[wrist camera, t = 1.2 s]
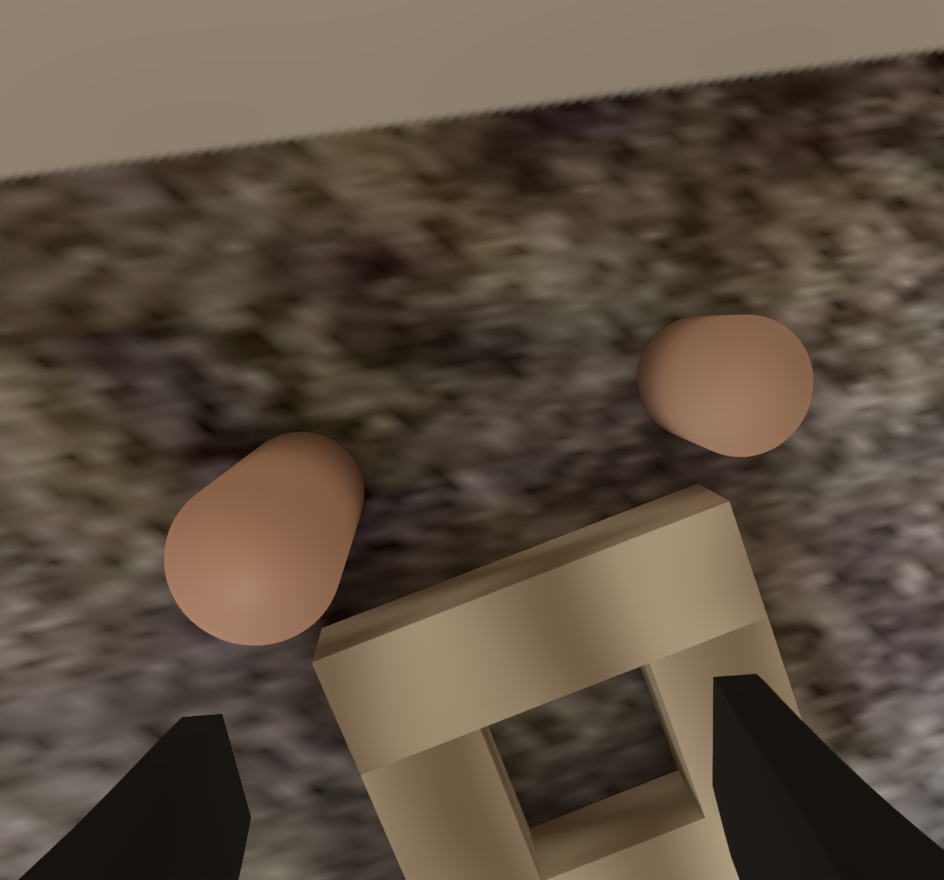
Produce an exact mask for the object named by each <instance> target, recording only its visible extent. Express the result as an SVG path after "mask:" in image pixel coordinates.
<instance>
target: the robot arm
mask: <svg viewBox="0 0 944 880" xmlns="http://www.w3.org/2000/svg"><path fill="white" fill-rule="evenodd" d="M712 787H713V790H714V794H715V798H716V802H717V806H718V810H719V814H720V818H721V822H722V826H723V830H724V833H725V837H726V841H727V844H728V848H729V852H730V855H731V858H732V861H733V864H734V867H735V869H736V872H737V875H738V877H739V880H944V850H943V849H942V848H941V847H940V846H938V845H937V844H936V843H935V842H933V841H932V840H931V839H930V838H929V837H927V836H926V835H925V834H924V833H923V832H921V831H920V830H919V829H918V828H917V827H916V826H914V825H913V824H912V823H911V822H910V821H909V820H907V819H906V818H905V817H904V816H903V815H902V814H900V813H899V812H898V811H897V810H896V809H895V808H893V807H892V806H891V805H890V804H889V803H888V802H887V801H886V800H884V799H883V798H882V797H881V796H880V795H879V794H878V793H877V792H876V791H874V790H873V789H872V788H871V787H870V786H869V785H868V784H867V783H866V782H865V781H864V780H863V779H862V778H860V777H859V776H858V775H857V774H856V773H855V772H854V771H853V770H852V769H851V768H850V767H849V766H848V765H847V764H846V763H845V762H844V761H842V760H841V759H840V758H839V757H838V756H837V755H836V754H835V753H834V752H833V751H832V750H831V749H830V748H829V747H828V746H827V745H826V744H825V743H824V742H823V741H822V740H821V739H820V738H819V737H818V736H817V735H816V734H815V733H814V732H813V731H812V730H811V729H810V728H809V727H808V726H807V725H806V724H805V723H804V722H803V721H802V720H801V719H800V718H799V717H798V716H797V715H796V714H795V713H794V711H793V710H792V709H791V708H790V707H789V706H788V705H787V704H786V703H785V702H784V701H783V700H782V699H781V698H780V697H779V696H778V695H777V694H776V692H775V691H774V690H773V689H772V688H771V687H770V686H769V685H768V684H767V683H766V682H765V681H764V680H763V679H762V678H761V677H760V676H759V675H757V674H745V675H732V676H718V677H713V763H712ZM250 820H251V816H250V812H249V809H248V805H247V802H246V798H245V794H244V791H243V787H242V784H241V780H240V776H239V773H238V769H237V766H236V762H235V758H234V755H233V751H232V748H231V744H230V741H229V737H228V733H227V730H226V726H225V723H224V719H223V715H222V714H217V715H204V716H191V717H182V718H181V719H180V720H179V721H178V722H177V723H176V724H175V725H174V726H173V727H172V728H171V729H170V730H169V731H168V732H167V733H166V734H165V735H164V736H163V737H162V738H161V739H160V740H159V741H158V742H157V743H156V744H155V745H154V746H153V747H152V748H151V749H150V750H149V751H148V752H147V753H146V754H145V755H144V756H143V758H142V759H141V760H140V761H139V762H138V763H137V764H136V765H135V766H134V767H133V768H132V769H131V770H130V771H129V772H128V773H127V774H126V775H125V776H124V777H123V778H122V779H121V780H120V781H119V782H118V783H117V785H116V786H115V787H114V788H113V789H112V790H111V791H110V792H109V793H108V794H107V795H106V796H105V797H104V798H103V799H102V800H101V801H100V802H99V803H98V804H97V805H96V806H95V807H94V808H93V809H92V810H91V811H90V812H89V813H88V814H87V815H86V816H85V817H84V818H83V819H82V820H81V821H80V822H79V823H78V824H77V825H76V826H75V827H74V828H73V829H72V830H71V831H70V832H69V833H68V834H67V835H66V836H65V837H63V838H62V839H61V840H60V841H59V842H58V843H57V844H56V845H55V846H54V847H53V848H52V849H51V850H50V851H49V852H48V853H46V854H45V855H44V856H43V857H42V858H41V859H40V860H39V861H38V862H37V863H36V864H35V865H34V866H33V867H32V868H31V869H29V870H28V871H27V872H26V873H25V874H24V875H23V876H22V877H21V878H20V879H19V880H238V879H239V874H240V870H241V865H242V861H243V856H244V851H245V846H246V841H247V836H248V830H249V825H250Z"/></svg>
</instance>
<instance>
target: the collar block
mask: <svg viewBox="0 0 944 880" xmlns="http://www.w3.org/2000/svg"><path fill="white" fill-rule="evenodd" d="M312 665H313V667H314V669H315V671H316V674H317V676H318V678H319V681H320V683H321V685H322V688H323V690H324V692H325V695H326V697H327V699H328V701H329V704H330V706H331V708H332V711H333V713H334V715H335V718H336V720H337V722H338V725H339V727H340V729H341V731H342V734H343V736H344V738H345V741H346V743H347V745H348V748H349V750H350V752H351V754H352V757H353V759H354V761H355V764H356V766H357V768H358V771H359V773H360V775H361V778H362V780H363V782H364V784H365V787H366V789H367V791H368V794H369V796H370V798H371V801H372V803H373V805H374V808H375V810H376V812H377V814H378V817H379V819H380V821H381V824H382V826H383V828H384V831H385V833H386V835H387V837H388V840H389V842H390V844H391V847H392V849H393V851H394V854H395V856H396V858H397V861H398V863H399V865H400V867H401V870H402V872H403V874H404V877H405V879H406V880H739V877H738V875H737V872H736V869H735V867H734V864H733V861H732V858H731V855H730V852H729V848H728V844H727V841H726V837H725V833H724V830H723V826H722V822H721V818H720V814H719V810H718V806H717V802H716V798H715V794H714V790H713V787H712V763H713V677H718V676H732V675H745V674H757V675H759V676H760V677H761V678H762V679H763V680H764V681H765V682H766V683H767V684H768V685H769V686H770V687H771V688H772V689H773V690H774V691H775V692H776V694H777V695H778V696H779V697H780V698H781V699H782V700H783V701H784V702H785V703H786V704H787V705H788V706H789V707H790V708H791V709H792V710H793V711H794V713H795V714H796V715H797V716H798V717H799V718H800V719H801V716H800V713H799V710H798V707H797V704H796V701H795V697H794V694H793V691H792V688H791V685H790V682H789V679H788V676H787V673H786V670H785V667H784V664H783V661H782V658H781V655H780V652H779V649H778V646H777V643H776V640H775V637H774V634H773V631H772V628H771V625H770V622H769V619H768V616H767V613H766V610H765V607H764V604H763V601H762V598H761V595H760V592H759V589H758V586H757V583H756V580H755V577H754V574H753V571H752V568H751V565H750V562H749V559H748V556H747V553H746V550H745V547H744V544H743V541H742V538H741V535H740V532H739V529H738V526H737V523H736V520H735V517H734V514H733V511H732V508H731V505H730V502H729V501H728V500H726V499H724V498H723V497H721V496H719V495H717V494H716V493H714V492H712V491H710V490H709V489H707V488H705V487H703V486H701V485H700V484H698V483H697V484H695V485H692V486H690V487H687V488H684V489H682V490H679V491H677V492H674V493H671V494H669V495H666V496H664V497H661V498H658V499H656V500H653V501H651V502H648V503H646V504H643V505H640V506H638V507H635V508H633V509H630V510H627V511H625V512H622V513H620V514H617V515H614V516H612V517H609V518H607V519H604V520H601V521H599V522H596V523H594V524H591V525H588V526H586V527H583V528H581V529H578V530H575V531H573V532H570V533H568V534H565V535H562V536H560V537H557V538H555V539H552V540H550V541H547V542H544V543H542V544H539V545H537V546H534V547H531V548H529V549H526V550H524V551H521V552H518V553H516V554H513V555H511V556H508V557H505V558H503V559H500V560H498V561H495V562H492V563H490V564H487V565H485V566H482V567H479V568H477V569H474V570H472V571H469V572H466V573H464V574H461V575H459V576H456V577H454V578H451V579H448V580H446V581H443V582H441V583H438V584H435V585H433V586H430V587H428V588H425V589H422V590H420V591H417V592H415V593H412V594H409V595H407V596H404V597H402V598H399V599H396V600H394V601H391V602H389V603H386V604H383V605H381V606H378V607H376V608H373V609H370V610H368V611H365V612H363V613H360V614H358V615H355V616H352V617H350V618H347V619H345V620H342V621H339V622H337V623H334V624H332V625H329V626H326V627H324V628H322V630H321V634H320V637H319V640H318V643H317V647H316V650H315V653H314V656H313V660H312ZM638 667H640V668H641V671H642V674H643V676H644V679H645V682H646V685H647V687H648V690H649V693H650V696H651V698H652V701H653V704H654V707H655V709H656V712H657V715H658V718H659V720H660V723H661V726H662V729H663V731H664V734H665V737H666V740H667V742H668V745H669V748H670V751H671V753H672V756H673V759H674V762H675V764H676V767H677V771H675V772H672V773H670V774H667V775H664V776H662V777H659V778H657V779H654V780H652V781H649V782H647V783H644V784H641V785H639V786H636V787H634V788H631V789H629V790H626V791H623V792H621V793H618V794H616V795H613V796H611V797H608V798H606V799H603V800H600V801H598V802H595V803H593V804H590V805H588V806H585V807H582V808H580V809H577V810H575V811H572V812H570V813H567V814H565V815H562V816H559V817H557V818H554V819H552V820H549V821H547V822H544V823H541V824H539V825H536V826H534V827H531V828H529V826H528V823H527V821H526V818H525V816H524V813H523V811H522V808H521V806H520V803H519V801H518V798H517V796H516V793H515V791H514V788H513V786H512V783H511V781H510V778H509V776H508V773H507V771H506V768H505V766H504V763H503V761H502V758H501V756H500V753H499V751H498V748H497V746H496V743H495V741H494V738H493V736H492V733H491V731H490V728H489V726H488V725H491V724H494V723H496V722H499V721H501V720H504V719H506V718H509V717H512V716H514V715H517V714H519V713H522V712H525V711H527V710H530V709H532V708H535V707H537V706H540V705H543V704H545V703H548V702H550V701H553V700H555V699H558V698H561V697H563V696H566V695H568V694H571V693H573V692H576V691H579V690H581V689H584V688H586V687H589V686H591V685H594V684H597V683H599V682H602V681H604V680H607V679H610V678H612V677H615V676H617V675H620V674H622V673H625V672H628V671H630V670H633V669H635V668H638ZM801 720H802V719H801Z"/></svg>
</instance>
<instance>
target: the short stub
mask: <svg viewBox="0 0 944 880" xmlns="http://www.w3.org/2000/svg"><path fill="white" fill-rule="evenodd" d="M813 380H814V379H813V370H812V365H811V361H810V359H809V356H808V353H807V351H806V349H805V348H804V346H803V344H802V343H801V341H800V340H799V339H798V337H797V336H796V335H795V334H794V333H793V332H792V331H791V330H789V329H788V328H787V327H786V326H784V325H783V324H781V323H779V322H777V321H775V320H773V319H770V318H768V317H763V316H759V315H711V316H691V317H685V318H682V319H679V320H676V321H674V322H672V323H670V324H669V325H667V326H665V327H664V328H663V329H661V330H660V331H659V332H658V333H657V334H656V335H655V336H654V337H653V338H652V339H651V341H650V342H649V343H648V345H647V346H646V348H645V350H644V352H643V354H642V357H641V359H640V363H639V366H638V373H637V386H638V393H639V396H640V400H641V402H642V405H643V407H644V409H645V410H646V412H647V414H648V415H649V416H650V417H651V419H652V420H653V421H654V422H655V423H656V424H657V425H659V426H660V427H661V428H663V429H664V430H666V431H668V432H670V433H672V434H674V435H676V436H679V437H681V438H683V439H686V440H688V441H690V442H693V443H695V444H697V445H700V446H702V447H704V448H707V449H709V450H711V451H714V452H716V453H719V454H722V455H726V456H732V457H749V456H754V455H758V454H762V453H765V452H767V451H769V450H772V449H774V448H775V447H777V446H779V445H780V444H782V443H783V442H784V441H785V440H787V439H788V438H789V437H790V436H791V435H792V434H793V433H794V432H795V431H796V429H797V428H798V427H799V425H800V424H801V423H802V421H803V419H804V417H805V416H806V413H807V411H808V409H809V406H810V402H811V399H812V394H813Z"/></svg>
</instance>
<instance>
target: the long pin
mask: <svg viewBox="0 0 944 880" xmlns="http://www.w3.org/2000/svg"><path fill="white" fill-rule="evenodd" d="M364 495H365V492H364V483H363V478H362V475H361V472H360V469H359V467H358V465H357V463H356V462H355V460H354V459H353V457H352V456H351V455H350V454H349V453H348V451H347V450H346V449H344V448H343V447H342V446H341V445H340V444H338V443H337V442H335V441H334V440H332V439H330V438H328V437H326V436H323V435H320V434H317V433H312V432H303V431H302V432H290V433H285V434H282V435H279V436H276V437H274V438H272V439H270V440H268V441H267V442H265V443H264V444H262V445H261V446H260V447H258V448H257V449H256V450H254V451H253V452H252V453H250V454H249V455H248V456H246V457H245V458H244V459H242V460H241V461H240V462H238V463H237V464H236V465H234V466H233V467H232V468H230V469H229V470H228V471H226V472H225V473H224V474H222V475H221V476H220V477H218V478H217V479H216V480H214V481H213V482H212V483H210V484H209V485H208V486H206V487H205V488H204V489H202V490H201V491H200V492H198V493H197V494H196V495H195V496H194V497H192V498H191V499H190V500H189V501H188V502H187V503H186V504H185V505H184V506H183V508H182V509H181V510H180V512H179V513H178V515H177V516H176V517H175V519H174V521H173V523H172V525H171V527H170V530H169V533H168V536H167V539H166V544H165V550H164V567H165V574H166V579H167V583H168V585H169V588H170V591H171V593H172V595H173V597H174V599H175V601H176V603H177V604H178V606H179V607H180V608H181V610H182V611H183V613H184V614H185V615H186V616H187V617H188V618H189V619H190V620H191V621H192V622H193V623H195V624H196V625H197V626H198V627H199V628H201V629H202V630H204V631H206V632H207V633H209V634H210V635H213V636H215V637H217V638H219V639H222V640H225V641H228V642H231V643H236V644H241V645H253V646H255V645H268V644H273V643H278V642H281V641H284V640H287V639H290V638H292V637H294V636H296V635H298V634H300V633H301V632H303V631H305V630H306V629H308V628H309V627H310V626H311V625H312V624H314V623H315V622H316V621H317V620H318V619H319V618H320V617H321V616H322V615H323V614H324V612H325V611H326V609H327V608H328V606H329V605H330V603H331V601H332V600H333V598H334V596H335V593H336V591H337V588H338V585H339V582H340V579H341V576H342V573H343V569H344V566H345V563H346V560H347V557H348V553H349V550H350V547H351V544H352V541H353V538H354V534H355V531H356V528H357V525H358V522H359V519H360V515H361V512H362V509H363V504H364Z"/></svg>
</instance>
